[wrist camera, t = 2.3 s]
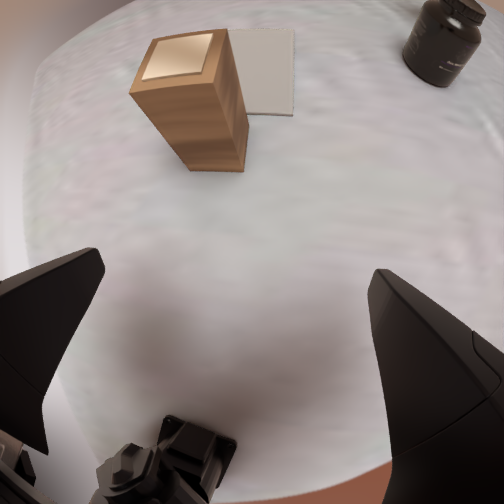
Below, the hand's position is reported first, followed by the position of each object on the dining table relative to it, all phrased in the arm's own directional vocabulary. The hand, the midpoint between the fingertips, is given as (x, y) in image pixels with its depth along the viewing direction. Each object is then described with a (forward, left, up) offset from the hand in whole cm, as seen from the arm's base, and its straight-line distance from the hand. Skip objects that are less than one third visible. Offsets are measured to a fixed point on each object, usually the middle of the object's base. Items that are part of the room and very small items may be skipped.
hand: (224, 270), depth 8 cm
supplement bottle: (+28, -12, -13) cm, 33 cm away
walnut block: (+9, +6, -12) cm, 17 cm away
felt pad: (+19, +9, -12) cm, 24 cm away
